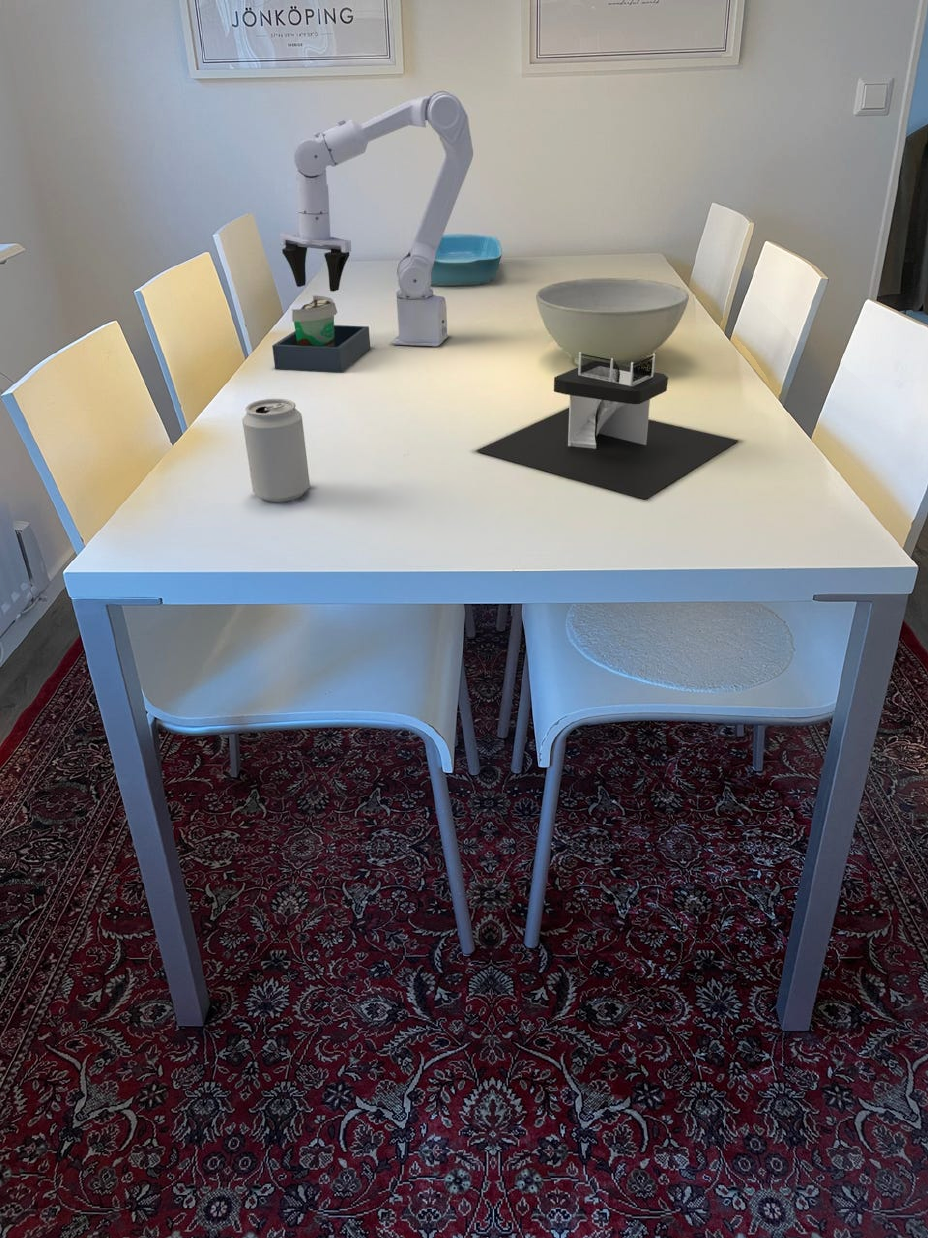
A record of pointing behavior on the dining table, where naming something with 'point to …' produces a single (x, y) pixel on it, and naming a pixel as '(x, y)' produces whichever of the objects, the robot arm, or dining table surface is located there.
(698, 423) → the dining table surface
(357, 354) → the tote
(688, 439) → the black-topped pedestal
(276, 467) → the can
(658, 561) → the dining table surface
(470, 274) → the casserole dish
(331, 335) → the food container
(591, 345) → the decorative bowl
